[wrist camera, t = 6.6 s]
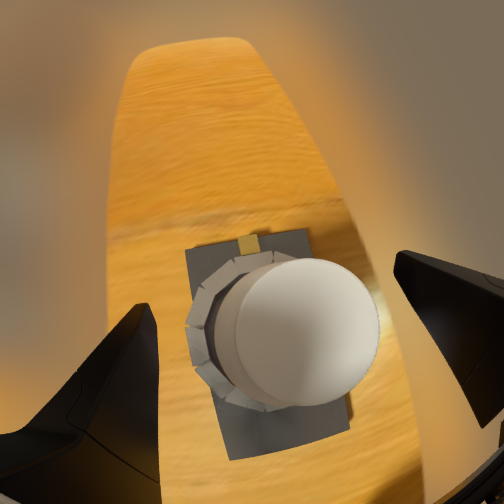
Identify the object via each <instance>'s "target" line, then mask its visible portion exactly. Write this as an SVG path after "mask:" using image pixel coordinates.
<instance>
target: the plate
mask: <svg viewBox="0 0 504 504" xmlns="http://www.w3.org/2000/svg"><path fill="white" fill-rule="evenodd" d="M257 238H258V243H259V247H260V251H261V252H260V253H262V252H267V251H272V254H274V252H275V251H277V252H280V253H283V254H286V255H289V256H292V257H295V258H298V259H302V258H313V254H312V250H311V247H310V243H309V240H308V236H307V233H306V229H301V230H295V231H289V232H283V233H277V234H271V235H266V236H260V237H257ZM185 255H186V262H187V268H188V275H189V281H190V288H191V294H192V300H193V301H194V298H195V296H196V293H197V290H198V287H201V288H203V287H202V285H201V283H202V282H204V281H205V280H206V279H207V278H209V277H210V276H211V275H212V274H213V273H215V272H216V271H217V270H218V269H219V268H221V267H222V266H223V265H224V264H225V263H227V262H228V261H229V260H230V259H231V260H232V261H233V262H234V257H240V251H239V246H238V241H231V242H225V243H220V244H214V245H209V246H203V247H198V248H192V249H187V250H185ZM239 280H240V279H239ZM239 280H238V281H239ZM238 281H237V282H238ZM237 282H236V283H237ZM236 283H235V284H236ZM235 284H234V285H235ZM234 285H232V286H231V287H230V288H229V289H228V290H227V291H225V292H224V293H223V294H222V295H221V296H219V297H218V298H217V299H216V301H215V304H214V307H213V310H212V313H211V315H210V318H209V321H208V324H207V327H206V331H207V336H208V341H209V346H210V351H211V355H212V359H213V360H214V361H215V362H216V363H217V364H218V366H219V367H220V368H221V369H222V370H223V368H222V366H221V364H220V362H219V359H218V356H217V353H216V348H215V341H214V332H215V322H216V318H217V314H218V311H219V309H220V306H221V304H222V302H223V300H224V298H225V297H226V295H227V294H228V292H229V291H230V290H231V288H232V287H233V286H234ZM203 289H204V288H203ZM223 371H224V370H223ZM210 389H211V387H210ZM211 393H212V397H213V401H214V406H215V410H216V413H217V417H218V421H219V425H220V429H221V432H222V436H223V440H224V443H225V447H226V450H227V454H228V457H229V460H230V461H231V460H238V459H244V458H249V457H255V456H260V455H265V454H269V453H274V452H278V451H282V450H286V449H290V448H294V447H297V446H301V445H305V444H308V443H311V442H314V441H318V440H321V439H324V438H327V437H330V436H333V435H335V434H338V433H341V432H344V431H346V430H349V429H350V425H349V419H348V413H347V407H346V401H345V395H343V396H341V397H340V398H338V399H335V400H333V401H331V402H328V403H325V404H320V405H314V406H296V405H294V406H290V407H287V408H283V409H279V410H274V411H270V412H267V411H266V409H264V412H261V411H257V410H253V409H250V408H246V407H243V406H239V405H236V404H233V403H229V402H226V401H225V397H224V398H223V399H221V398H220V397H219V396H218V395H217V394H216V393H215V392H214V391H213V390H212V389H211Z"/></svg>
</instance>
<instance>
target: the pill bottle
mask: <svg viewBox="0 0 504 504" xmlns="http://www.w3.org/2000/svg"><path fill="white" fill-rule="evenodd" d="M379 322H380V321H379V316H378V311H377V308H376V305H375V303H374V300H373V298H372V296H371V294H370V292H369V291H368V289H367V288H366V286H365V285H364V284H363V283H362V281H361V280H360V279H359V278H358V277H357V276H355V275H354V274H353V273H352V272H350V271H349V270H348V269H346V268H344V267H342V266H341V265H339V264H336V263H334V262H331V261H327V260H323V259H314V258H302V259H296V260H291V261H284V262H276V263H272V264H268V265H265V266H262V267H259V268H257V269H255V270H253V271H251V272H250V273H248V274H247V275H245V276H244V277H243V278H241V279H240V280H239V281H238V282H237V283H236V284H235V285H234V286H233V287H232V288H231V290H230V291H229V292H228V294H227V295H226V297H225V298H224V300H223V302H222V304H221V306H220V309H219V311H218V314H217V318H216V322H215V332H214V341H215V348H216V353H217V356H218V359H219V362H220V364H221V366H222V368H223V370H224V372H225V373H226V375H227V376H228V378H229V379H230V380H231V382H232V383H233V384H234V385H235V386H236V387H237V388H238V389H240V390H241V391H242V392H243V393H245V394H246V395H248V396H250V397H252V398H253V399H256V400H258V401H260V402H263V403H266V404H271V405H276V406H294V405H296V406H314V405H320V404H325V403H328V402H331V401H333V400H335V399H338V398H340V397H341V396H343V395H345V394H346V393H348V392H349V391H350V390H352V389H353V388H354V387H355V386H356V385H357V384H358V383H359V382H360V381H361V380H362V379H363V377H364V376H365V375H366V374H367V372H368V370H369V368H370V367H371V365H372V363H373V361H374V358H375V356H376V353H377V349H378V345H379V338H380V325H379Z"/></svg>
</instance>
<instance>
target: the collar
mask: <svg viewBox="0 0 504 504" xmlns="http://www.w3.org/2000/svg"><path fill="white" fill-rule="evenodd" d="M237 241H238V246H239V251H240V257H234V262H233V261H232V260H231V259H230V260H229V261H228V262H227V263H225V264H224V265H223V266H222V267H221V268H219V269H218V270H217V271H216V272H215V273H213V274H212V275H211V276H210V277H209V278H207V279H206V280H205V281H204V282H202V283H201V285H202V287H203V288H204V289H203V288H201V287H198V290H197V293H196V296H195V298H194V301H193V304H192V307H191V309H190V312H189V315H188V318H187V320H186V323H185V324H187V325H190V326H191V327H185V330H186V336H187V341H188V346H189V351H190V356H191V361H192V365H193V366H198V367H197V368H196V369H195V371H196V372H197V373H198V374H199V375H200V377H201V378H202V379H203V380H204V381H205V382H206V383H207V384H208V385H209V386H210V387H211V389H212V390H213V391H214V392H215V393H216V394H217V395H218V396H219V397H220V398H221V399H223V398H224V397H225V401H226V402H229V403H233V404H236V405H239V406H243V407H246V408H250V409H253V410H257V411H261V412H264V409H266V411H267V412H270V411H274V410H279V409H283V408H287V407H290V406H276V405H271V404H266V403H263V402H260V401H258V400H256V399H253V398H252V397H250V396H248V395H246V394H245V393H243V392H242V391H241V390H240V389H238V388H237V387H236V386H235V385H234V384H233V383H232V382H231V380H230V379H229V378H228V376H227V375H226V373H225V372H224V371H223V370H222V369H221V368H220V367H219V366H218V364H217V363H216V362H215V361H214V360H213V359H212V355H211V351H210V346H209V341H208V336H207V331H206V327H207V324H208V321H209V318H210V315H211V313H212V310H213V307H214V304H215V301H216V299H217V298H218V297H219V296H221V295H222V294H223V293H224V292H225V291H227V290H228V289H229V288H230V287H231V286H232V285H234V284H235V283H236V282H237V281H238V280H239V279H241V278H243V277H244V276H245V275H247V274H248V273H250V272H251V271H253V270H255V269H257V268H259V267H262V266H265V265H268V264H272V263H276V262H284V261H291V260H296V259H298V258H295V257H292V256H289V255H286V254H283V253H280V252H277V251H275V252H274V254H272V251H267V252H262V253H260V252H261V251H260V247H259V243H258V238H257V234H253V235H247V236H241V237H237Z"/></svg>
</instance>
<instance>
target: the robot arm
mask: <svg viewBox="0 0 504 504" xmlns="http://www.w3.org/2000/svg"><path fill="white" fill-rule="evenodd" d="M393 273H394V276H395V278H396V280H397V281H398V283H399V285H400V287H401V288H402V290H403V292H404V294H405V295H406V297H407V299H408V301H409V303H410V304H411V306H412V307H413V309H414V311H415V312H416V313H417V315H418V316H419V318H420V319H421V321H422V322H423V324H424V325H425V327H426V329H427V330H428V332H429V333H430V335H431V336H432V338H433V340H434V341H435V343H436V344H437V346H438V348H439V349H440V351H441V353H442V354H443V356H444V358H445V359H446V361H447V363H448V365H449V366H450V368H451V370H452V371H453V373H454V375H455V377H456V379H457V380H458V382H459V384H460V386H461V388H462V390H463V392H464V394H465V396H466V398H467V400H468V402H469V404H470V406H471V408H472V410H473V412H474V414H475V417H476V419H477V421H478V423H479V425H480V427H481V428H482V429H483V428H484V427H485V426H486V425H487V424H488V423H489V422H490V421H491V420H492V419H493V418H495V416H497V414H499V412H500V411H501V410H502V409H503V408H504V280H502V279H499V278H496V277H493V276H490V275H487V274H484V273H481V272H478V271H474V270H471V269H468V268H465V267H462V266H459V265H455V264H452V263H449V262H446V261H443V260H439V259H436V258H433V257H429V256H426V255H422V254H419V253H416V252H412V251H409V250H403V251H399V252H398V253H397V254H396V260H395V265H394V270H393ZM158 388H159V356H158V338H157V325H156V321H155V319H154V316H153V314H152V311H151V309H150V306H149V304H148V303H139V304H135V305H134V306H133V307H132V309H131V310H130V311H129V312H128V313H127V314H126V315H125V316H124V317H123V318H122V319H121V320H120V322H119V323H118V324H117V325H116V326H115V327H114V328H113V329H112V330H111V332H110V333H109V334H108V335H107V336H106V337H105V338H104V339H103V340H102V342H101V343H100V344H99V345H98V346H97V347H96V348H95V350H94V351H93V352H92V353H91V354H90V355H89V356H88V358H87V359H86V360H85V361H84V362H83V363H82V365H81V366H80V367H79V368H78V369H77V372H75V373H74V374H73V375H72V376H71V378H70V379H69V380H68V381H67V382H66V383H65V384H64V386H63V387H62V388H61V389H60V390H59V391H58V392H57V394H56V395H55V396H54V397H53V398H52V399H51V400H50V401H49V402H48V403H47V404H46V405H45V406H44V407H43V408H42V409H41V410H40V411H39V412H38V414H36V415H35V416H34V418H33V419H32V420H31V421H30V422H29V423H28V424H27V425H26V426H25V427H23V428H22V429H20V430H18V431H16V432H12V433H7V434H0V504H162V498H161V487H160V474H159V452H158ZM484 500H485V501H486V503H487V504H504V420H503V421H502V422H501V429H500V439H499V449H498V450H497V451H496V452H495V453H494V454H493V455H492V456H491V457H490V458H489V459H488V460H487V461H486V462H485V463H484V464H483V465H482V466H480V467H479V468H478V469H477V470H476V471H475V472H474V473H473V474H472V475H470V476H469V477H468V478H467V479H466V480H464V481H463V482H462V483H461V484H460V485H458V486H457V487H456V488H454V489H453V490H452V491H450V492H449V493H448V494H446V495H445V496H444V497H442V498H441V499H439V500H438V501H437V502H435V503H434V504H481V503H482V502H483V501H484Z"/></svg>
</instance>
